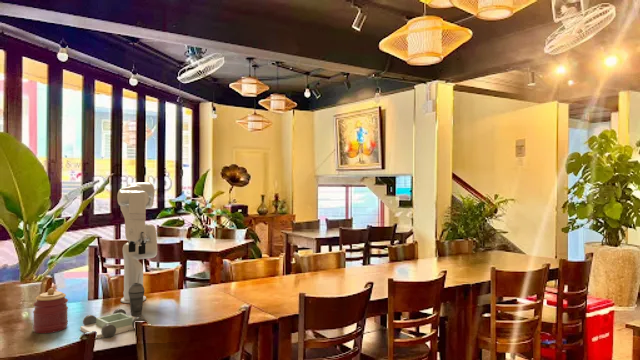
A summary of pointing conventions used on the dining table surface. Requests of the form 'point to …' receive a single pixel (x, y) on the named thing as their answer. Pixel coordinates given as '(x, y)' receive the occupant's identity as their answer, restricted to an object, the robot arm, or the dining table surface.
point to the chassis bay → (109, 323)
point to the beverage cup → (136, 298)
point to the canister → (50, 312)
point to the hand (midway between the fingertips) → (136, 253)
